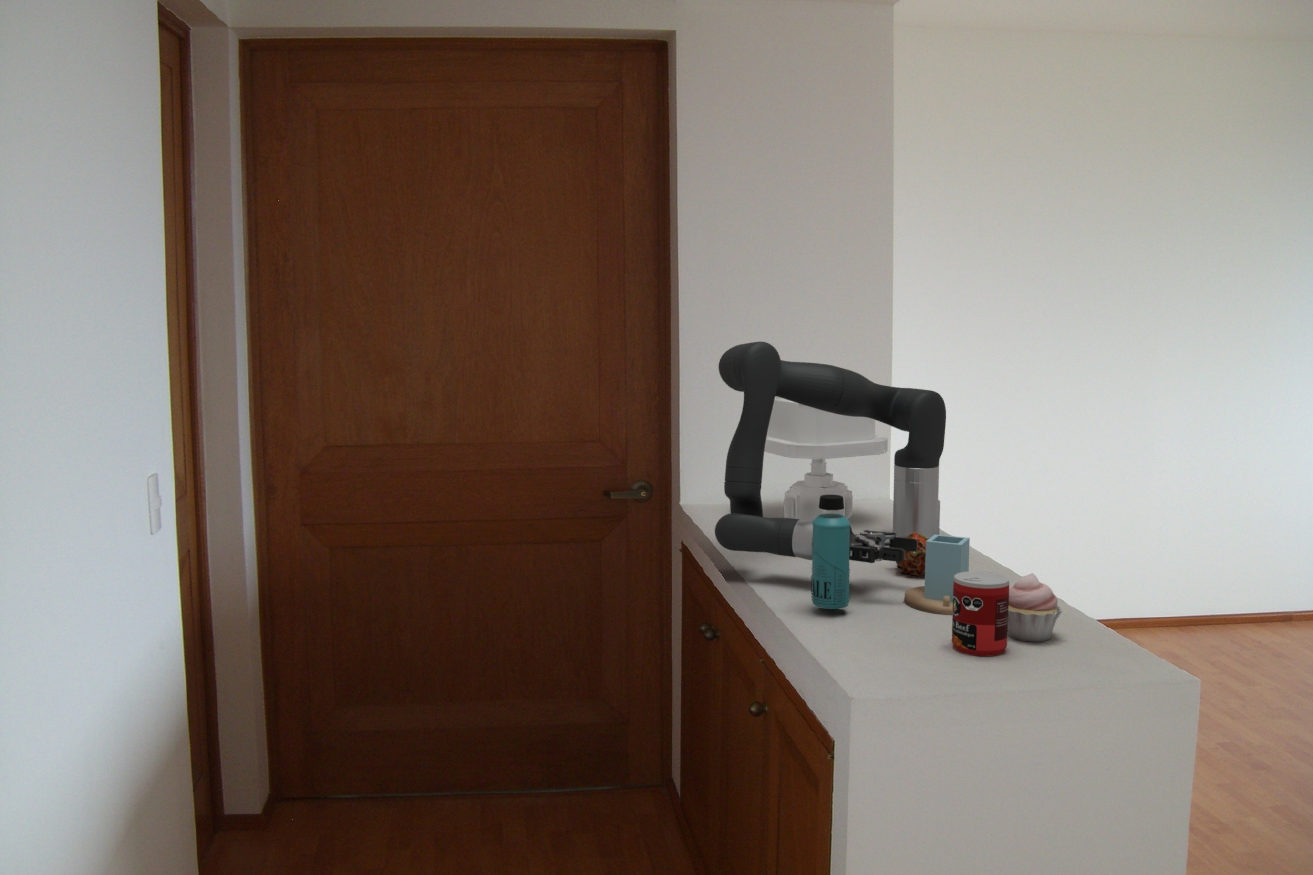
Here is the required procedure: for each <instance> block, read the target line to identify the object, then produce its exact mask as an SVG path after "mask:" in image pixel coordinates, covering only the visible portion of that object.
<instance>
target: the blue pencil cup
mask: <svg viewBox="0 0 1313 875" xmlns="http://www.w3.org/2000/svg"><path fill="white" fill-rule="evenodd" d="M970 541H971V540H970V537H966V536H965V537H963V536H955V535H947V534H946V535H945V534H939V535H936V534H935V535H933V536H932V537H931V538H929V539H928V540H927V541H926V556H925V572H924V586H925V592H924V598H925V599H933V600H941V601H943V596H949V597H950V602H953V584H954V575H955V574H958V573H961V572H968V571H969V566H970V564H969V563H970Z"/></svg>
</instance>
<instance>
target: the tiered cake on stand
mask: <svg viewBox="0 0 1313 875" xmlns="http://www.w3.org/2000/svg"><path fill="white" fill-rule="evenodd" d="M888 438H889V437H887V436H883V435H877V434H876V420H874V419H871V418H867V417H853V416H845V415H839V414H835V413H831V412H827V411H822V410H819V409H816V408H812V407H809V406H806V405H802V404H799V403H796V402H793V401H790V400H787V399H784V398H781V397H777V396H775V400H774V404H773V409H772V413H771V418H770V422H769V427H768V432H767V437H766V442H765V449H764V453H768V454H773V455H776V456H781V457H784V458H791V459H805V460H806V459H808V460H811V463H810V467H811V468H810V470H811V471H810V472H806V473H804V480H797V481H795V482H794V483H793V484H792V485H791V486H789V489H788V490H786V491H785V492H784V501H783V513H784V514H783V515H784V518H793V519H815V518H816V517H817V516H819V515H820V514H828V513H833V514H841V515H843V516H845V517H846V518H847V519H848V520H849V519H850V518H852V516H853V515H852V514H853V498H854V497H853V491H852V490H849V489H848V485H846V484H845V483H844V482H840V481H837V480H834V474H833V473H829V472H827V462H826V460H829V459H840V458H841V459H842V458H853V457H855V458H856V457H865V456H866V457H867V456H876V455H878V456H879V455H883V454H886V453H887V452H888V444H889V442H888V440H889V439H888ZM822 495H840V496H842V497H843V501H844V509H842V510H823V509H820V508H819V501H820V496H822Z"/></svg>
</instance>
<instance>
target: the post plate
mask: <svg viewBox="0 0 1313 875" xmlns="http://www.w3.org/2000/svg"><path fill="white" fill-rule="evenodd" d="M924 592H925V585H921V586H916V587H912V588H909V589H908V590H906V591H905V592H904V603H905V604H906V605H907V606H908V607H910V608H912V609H915V610H918V611H921V612H925V613H931V614H938V615H945V616H946V615H950V616H953V602H950V597H949V596H943V601H941V600H933V599H925V598H924Z"/></svg>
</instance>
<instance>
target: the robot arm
mask: <svg viewBox="0 0 1313 875" xmlns="http://www.w3.org/2000/svg"><path fill="white" fill-rule="evenodd" d="M718 373H719V375H720V377H721V379H722V381H723V383H725V385H726V386H728V387H729V388H730V389H732V390H734V391H736V392H740V393H741V392H742V393H743V404H742V405H743V406H742V410H741V415H740V418H739V421H738V423H737V427H736V429H735V431H734V434H733V437H732V439H731V441H730V444H729V447H728V451H727V454H726V459H725V473H724V483H723V484H724V486H723V489H724V495H725V496H726V497H727V498H728V499H729V507H730V508H729V509H730V511H729V512H730V513H726V514H725V515H723V516H722V517H721V518H719V519H718V521H717V522H716V524H715V527H714V535H715V538H716V540H717V543H718V544H719V545H720V546H721V547H722V548H724V549H726V550H729V551H734V552H735V551H737V552H748V553H749V552H751V553H767V554H771V555H777V556H783V557H784V556H785V557H789V558H790V557H791V558H798V559H799V558H800V559H803V560H806V561H812V558H811V557H812V552H813V546H812V542H813V524H812V522H813V520H814V519H793V518H785V517H765V516H764V509H763V502H762V496H761V492H762V480H763V470H764V469H763V468H764V457H765V452H764V449H765V442H766V437H767V432H768V427H769V422H770V418H771V413H772V409H773V404H774V400H775V396H777V397H781V398H784V399H787V400H790V401H793V402H796V403H799V404H802V405H806V406H809V407H812V408H816V409H819V410H822V411H827V412H831V413H835V414H839V415H845V416H853V417H867V418H871V419H874V420H875V421H878V422H879V423H880V422H881V423H883V424H886V425H888V426H889V427H891V428H895V429H898V430H900V431H903V432H906V433H908V440H907V443H906V444H905V446H904V447H903V448H899V449H898V450H896V451H895V452H894V458H893V460H894V462H893V464H894V465H893V504H892V505H893V507H892V532H888V531H880V530H879V531H878V530H876V531H875V530H868V529H865V530H863V531H860V532H859V534H854V532H853V529H852V526H851V525H850V541H849V561H853V562H854V561H855V562H862V563H869V564H874V563H875V562H881V561H887V562H895V563H896V562H903V561H904V559H905V551H913V552H915V551H916V550H917V549H918V540H917V539H913V538H904V537H906V536H908V535H910V534H912V533H913V532H916V533H920V534H923V535H925V536H926V537H927V538H931V537H932V536H933V535H935V534H936V535H940V524H941V522H940V521H941V520H940V519H941V501H940V499H939V492H940V491H939V486H940V485H939V484H940V481H939V480H940V459H941V456H942V455H943V452H944V447H945V436H946V435H945V434H946V423H947V408H946V403H945V401H944V398H943V397H942V395H941V394H940V393H938V392H937V391H934V390H932V389H931V390H930V389H922V388H913V387H912V388H911V387H896V386H892V385H891V386H889V385H886V384H885V385H883V384H879V383H877V382H873V381H871V380H870V379H869V378H867V377H865V376H864V375H862V374H861V373H858V372H856V371H854V370H850V369H848V368H844V367H839V366H835V365H831V364H825V363H817V362H805V361H788V360H783V359H782V360H781V355H780V354H779V352H778V350H777V349H776V347H775V346H773V344H771V343H769V342H766V341H754V342H753V341H751V342H747V343H742V344H737V345H734V346H733V347H730V348H729V349H727V350H726V351H725V352H724V353H722V355H721V357H720V358H719V362H718ZM886 540H888V541H889V542H886Z"/></svg>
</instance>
